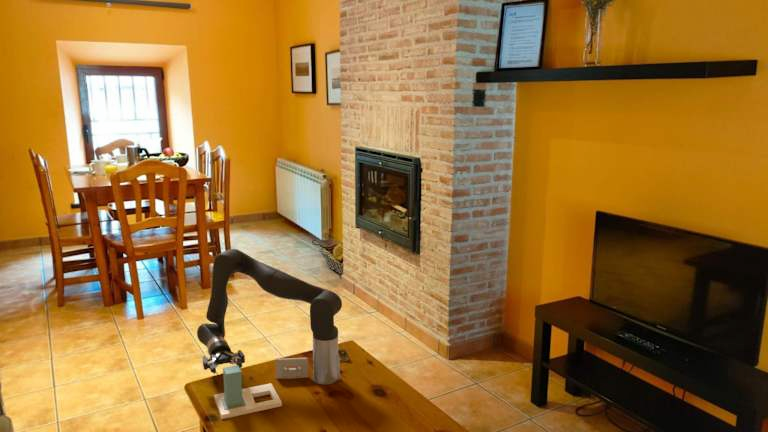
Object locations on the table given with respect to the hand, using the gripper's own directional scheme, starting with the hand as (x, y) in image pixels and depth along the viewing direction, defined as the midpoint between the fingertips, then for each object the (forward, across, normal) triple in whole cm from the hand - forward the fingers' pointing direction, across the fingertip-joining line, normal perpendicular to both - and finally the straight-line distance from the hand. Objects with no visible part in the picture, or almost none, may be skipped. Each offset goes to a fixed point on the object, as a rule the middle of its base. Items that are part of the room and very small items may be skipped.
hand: (227, 368), depth 200 cm
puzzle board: (+8, +5, +10) cm, 14 cm away
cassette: (-3, +24, +10) cm, 26 cm away
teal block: (+8, 0, +8) cm, 12 cm away
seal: (-14, +44, +11) cm, 47 cm away
